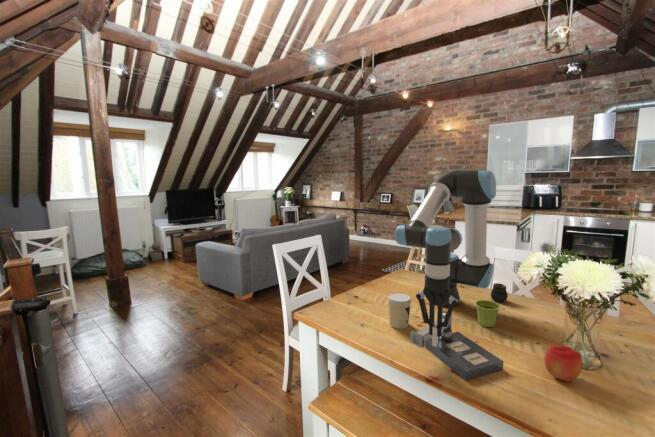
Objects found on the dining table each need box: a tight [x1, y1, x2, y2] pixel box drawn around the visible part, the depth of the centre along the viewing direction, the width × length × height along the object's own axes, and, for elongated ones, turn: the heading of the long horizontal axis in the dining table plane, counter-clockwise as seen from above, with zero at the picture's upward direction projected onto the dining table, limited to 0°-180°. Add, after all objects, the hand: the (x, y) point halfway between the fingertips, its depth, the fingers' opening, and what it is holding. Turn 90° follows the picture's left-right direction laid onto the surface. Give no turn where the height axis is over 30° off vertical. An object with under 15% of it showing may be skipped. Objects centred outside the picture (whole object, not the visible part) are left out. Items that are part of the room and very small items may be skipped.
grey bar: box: [409, 310, 453, 349], centre depth 107 cm, size 21×4×6 cm, turn 130°
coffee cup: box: [387, 292, 412, 330], centre depth 129 cm, size 9×9×12 cm
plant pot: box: [474, 299, 501, 328], centre depth 128 cm, size 9×9×9 cm
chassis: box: [424, 329, 504, 382], centre depth 106 cm, size 15×20×6 cm
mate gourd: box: [490, 282, 508, 303], centre depth 151 cm, size 7×8×10 cm
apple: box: [543, 344, 583, 382], centre depth 94 cm, size 10×10×10 cm
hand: (435, 344), depth 102 cm, fingers closed
